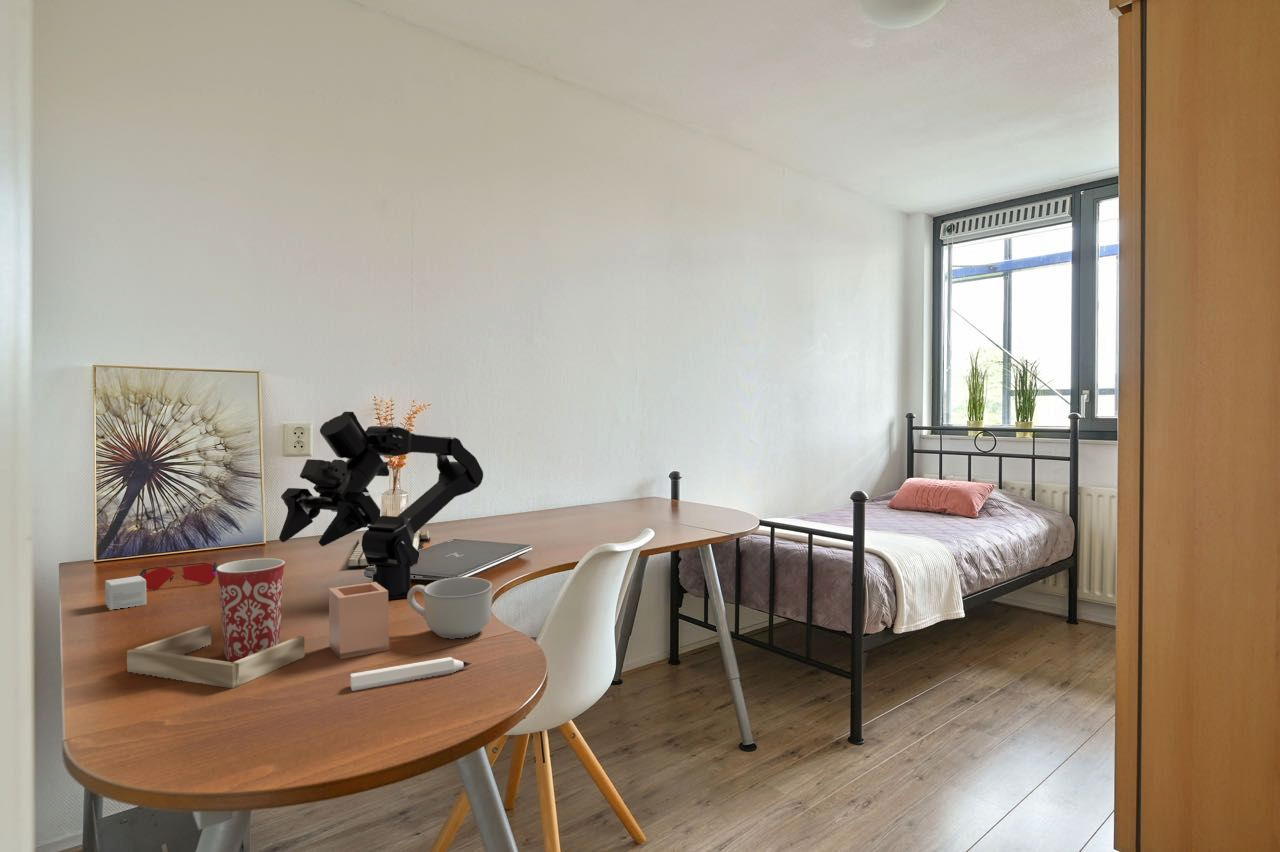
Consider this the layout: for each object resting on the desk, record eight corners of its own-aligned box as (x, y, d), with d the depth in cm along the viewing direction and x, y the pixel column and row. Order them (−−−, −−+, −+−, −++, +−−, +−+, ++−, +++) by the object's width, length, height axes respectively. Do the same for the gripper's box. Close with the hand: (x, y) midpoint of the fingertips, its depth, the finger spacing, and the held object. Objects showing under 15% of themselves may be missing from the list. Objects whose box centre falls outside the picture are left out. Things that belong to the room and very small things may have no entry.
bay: (206, 644, 113) (206, 625, 113) (304, 656, 107) (304, 636, 107) (127, 672, 101) (126, 650, 101) (232, 688, 95) (232, 665, 95)
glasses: (136, 594, 145) (136, 569, 145) (143, 577, 159) (143, 555, 159) (217, 585, 152) (217, 561, 152) (217, 570, 166) (216, 548, 166)
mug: (285, 659, 106) (283, 567, 106) (214, 668, 102) (211, 573, 102) (289, 634, 118) (287, 551, 117) (225, 642, 114) (223, 556, 114)
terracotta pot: (376, 638, 116) (375, 581, 115) (389, 650, 110) (388, 591, 110) (329, 646, 112) (328, 588, 111) (340, 659, 106) (339, 598, 106)
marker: (472, 675, 102) (351, 696, 95) (469, 663, 104) (349, 683, 96) (475, 662, 101) (352, 682, 93) (471, 650, 103) (350, 669, 95)
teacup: (504, 627, 121) (504, 579, 121) (469, 647, 111) (468, 595, 111) (433, 619, 126) (433, 573, 125) (393, 638, 115) (392, 588, 115)
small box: (140, 599, 140) (140, 574, 140) (147, 605, 136) (146, 579, 135) (104, 605, 136) (103, 579, 136) (110, 611, 132) (109, 584, 131)
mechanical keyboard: (428, 568, 168) (428, 553, 168) (340, 574, 163) (340, 559, 163) (430, 540, 205) (430, 528, 205) (358, 544, 200) (358, 531, 199)
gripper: (293, 443, 131) (233, 506, 120) (372, 445, 123) (315, 512, 113) (325, 486, 138) (271, 550, 127) (402, 490, 130) (351, 558, 120)
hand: (300, 542), depth 121 cm, fingers open, 9 cm apart
